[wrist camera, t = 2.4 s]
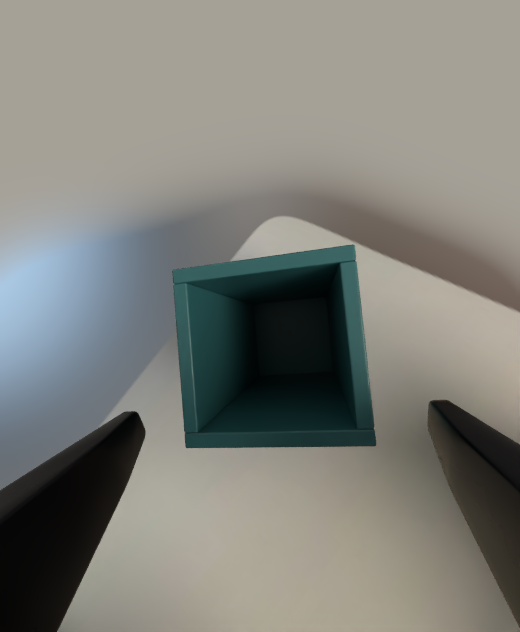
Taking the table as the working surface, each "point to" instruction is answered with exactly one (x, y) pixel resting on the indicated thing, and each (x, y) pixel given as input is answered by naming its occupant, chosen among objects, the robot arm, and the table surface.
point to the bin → (274, 352)
